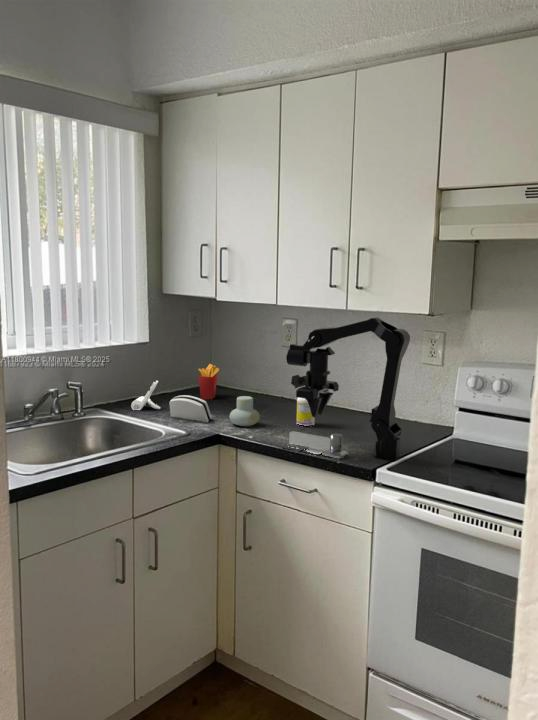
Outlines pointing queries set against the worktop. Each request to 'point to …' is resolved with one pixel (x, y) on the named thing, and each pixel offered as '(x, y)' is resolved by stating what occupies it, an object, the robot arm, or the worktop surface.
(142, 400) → the plastic part
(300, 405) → the supplement bottle
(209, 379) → the french fries
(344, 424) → the worktop surface
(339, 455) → the pivot base
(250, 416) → the air freshener
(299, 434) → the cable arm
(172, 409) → the napkin holder
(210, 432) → the worktop surface
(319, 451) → the label tile
